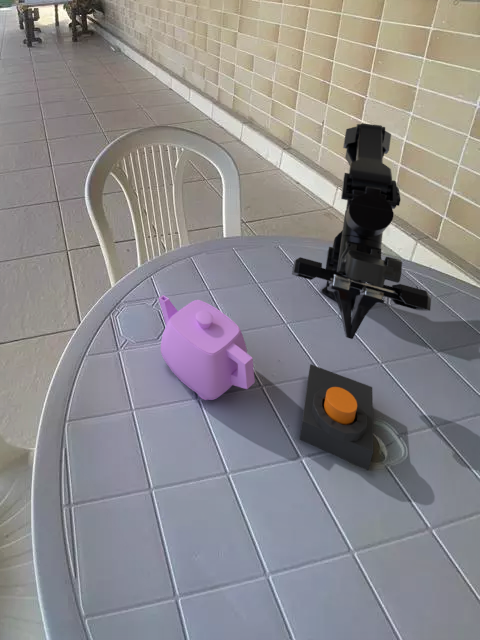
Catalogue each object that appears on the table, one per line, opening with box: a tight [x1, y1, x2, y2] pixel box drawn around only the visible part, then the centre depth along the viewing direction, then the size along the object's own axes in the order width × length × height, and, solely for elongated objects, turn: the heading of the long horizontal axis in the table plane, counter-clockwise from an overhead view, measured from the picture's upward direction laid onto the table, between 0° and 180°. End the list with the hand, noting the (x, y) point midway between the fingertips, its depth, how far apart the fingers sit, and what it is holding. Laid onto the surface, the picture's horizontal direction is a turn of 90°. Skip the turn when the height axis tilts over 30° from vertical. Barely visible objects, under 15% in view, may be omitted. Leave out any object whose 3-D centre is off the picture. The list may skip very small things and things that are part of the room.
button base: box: [299, 364, 374, 471], centre depth 66 cm, size 11×9×6 cm
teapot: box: [158, 294, 256, 401], centre depth 75 cm, size 20×12×13 cm, turn 37°
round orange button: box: [324, 387, 357, 425], centre depth 63 cm, size 4×4×3 cm
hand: (349, 338), depth 67 cm, fingers closed
